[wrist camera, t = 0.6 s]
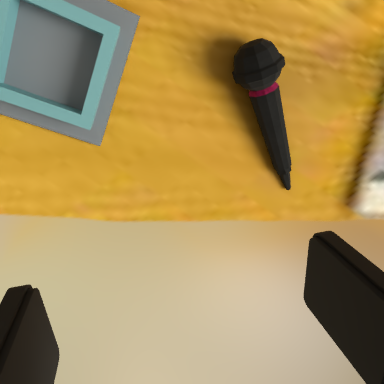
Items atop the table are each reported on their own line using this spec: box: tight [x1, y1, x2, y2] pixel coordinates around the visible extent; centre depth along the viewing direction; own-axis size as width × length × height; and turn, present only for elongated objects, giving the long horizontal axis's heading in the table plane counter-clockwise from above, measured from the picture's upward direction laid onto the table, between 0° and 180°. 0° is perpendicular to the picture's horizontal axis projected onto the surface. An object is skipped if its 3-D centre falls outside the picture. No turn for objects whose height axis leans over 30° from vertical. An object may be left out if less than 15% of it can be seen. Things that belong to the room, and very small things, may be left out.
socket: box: [0, 0, 140, 146], centre depth 29 cm, size 14×13×3 cm
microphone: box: [232, 38, 291, 190], centre depth 37 cm, size 6×6×20 cm
